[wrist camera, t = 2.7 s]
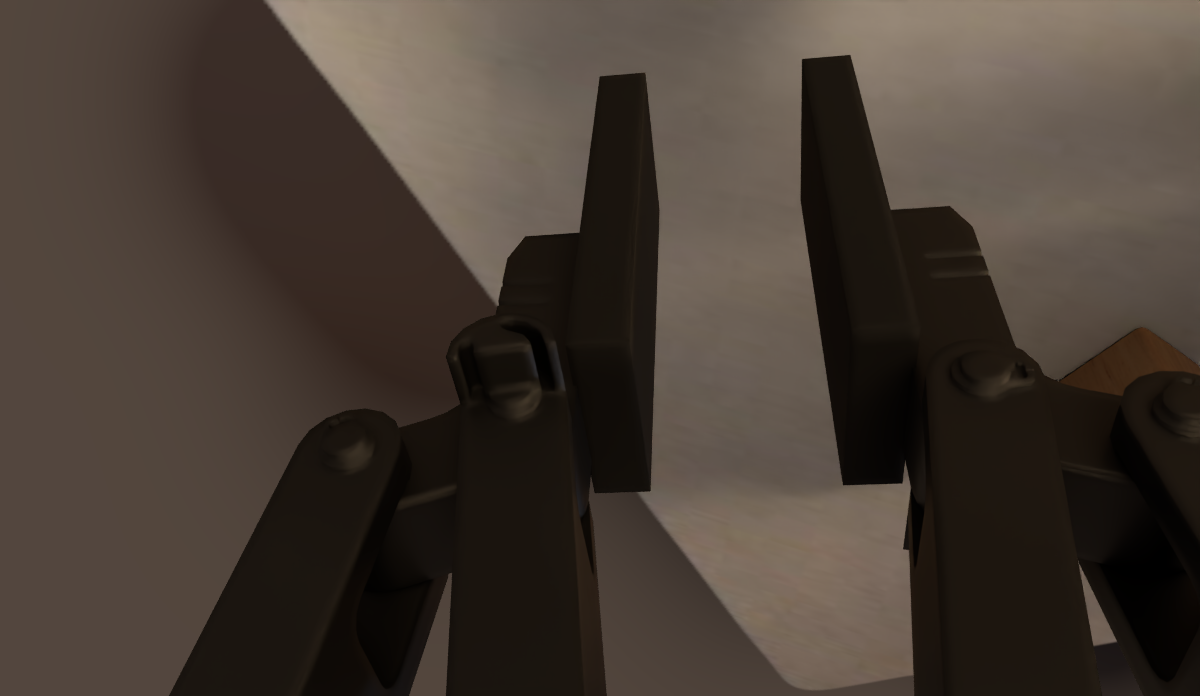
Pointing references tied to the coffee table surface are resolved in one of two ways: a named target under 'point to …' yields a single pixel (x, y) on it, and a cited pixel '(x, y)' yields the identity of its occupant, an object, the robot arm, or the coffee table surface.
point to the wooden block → (1129, 363)
